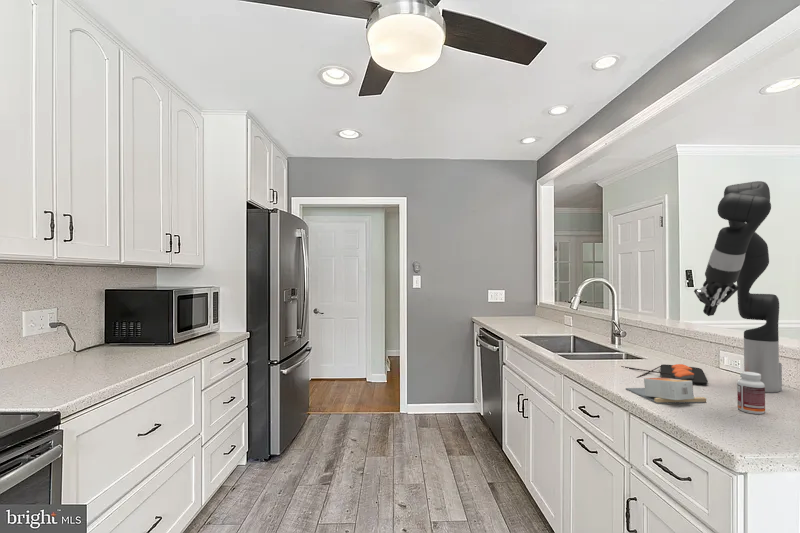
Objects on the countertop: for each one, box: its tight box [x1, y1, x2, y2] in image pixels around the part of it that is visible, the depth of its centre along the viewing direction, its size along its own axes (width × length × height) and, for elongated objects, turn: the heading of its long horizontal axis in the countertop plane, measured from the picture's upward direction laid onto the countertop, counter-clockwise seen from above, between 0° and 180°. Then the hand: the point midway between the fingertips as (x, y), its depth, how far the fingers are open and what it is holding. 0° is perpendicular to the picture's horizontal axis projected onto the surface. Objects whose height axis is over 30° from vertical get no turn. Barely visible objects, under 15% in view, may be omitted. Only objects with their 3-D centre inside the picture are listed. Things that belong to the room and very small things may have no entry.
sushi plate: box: [620, 363, 709, 385], centre depth 167 cm, size 29×30×4 cm
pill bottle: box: [736, 371, 766, 415], centre depth 121 cm, size 6×6×11 cm
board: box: [625, 387, 707, 405], centre depth 136 cm, size 16×16×1 cm
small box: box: [643, 377, 695, 400], centre depth 130 cm, size 8×6×10 cm
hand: (708, 314), depth 124 cm, fingers closed
